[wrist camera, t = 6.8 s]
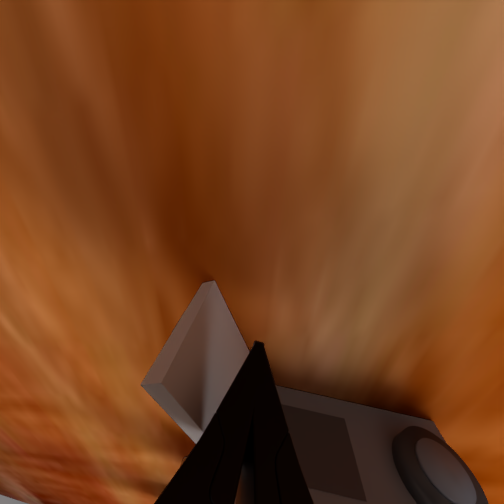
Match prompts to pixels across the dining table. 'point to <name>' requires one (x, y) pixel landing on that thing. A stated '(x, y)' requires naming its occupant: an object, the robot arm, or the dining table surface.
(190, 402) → the side door
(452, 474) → the camera block
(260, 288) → the dining table surface
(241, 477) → the robot arm
